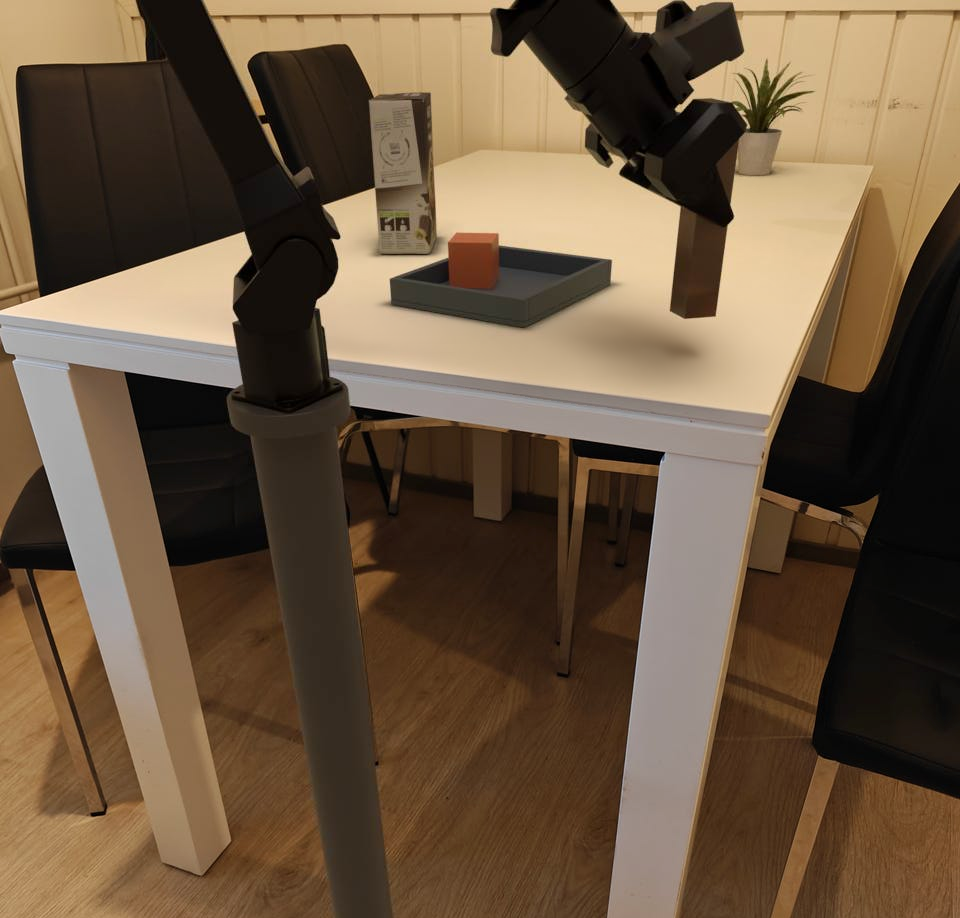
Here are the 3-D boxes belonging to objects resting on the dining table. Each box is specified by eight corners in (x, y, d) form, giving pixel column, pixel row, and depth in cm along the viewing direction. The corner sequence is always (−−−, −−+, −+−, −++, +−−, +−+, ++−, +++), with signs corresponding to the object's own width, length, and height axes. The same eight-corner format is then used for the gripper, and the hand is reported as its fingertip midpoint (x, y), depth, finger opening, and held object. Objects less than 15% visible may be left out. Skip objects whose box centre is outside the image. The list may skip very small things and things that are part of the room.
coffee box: (431, 254, 108) (424, 97, 99) (378, 255, 109) (366, 98, 99) (438, 238, 116) (432, 90, 106) (388, 238, 116) (378, 91, 107)
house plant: (758, 184, 144) (776, 62, 134) (691, 174, 153) (703, 59, 143) (812, 173, 151) (833, 57, 141) (745, 164, 160) (761, 54, 150)
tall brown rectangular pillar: (684, 319, 73) (707, 119, 66) (669, 311, 75) (689, 117, 68) (715, 316, 74) (742, 118, 66) (699, 309, 76) (723, 116, 69)
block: (492, 289, 93) (491, 242, 90) (449, 288, 94) (447, 241, 91) (499, 278, 97) (498, 233, 94) (457, 277, 97) (456, 232, 95)
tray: (524, 327, 84) (524, 299, 82) (391, 304, 91) (389, 278, 89) (610, 284, 96) (612, 259, 94) (487, 267, 103) (486, 243, 101)
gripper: (739, -56, 53) (868, 149, 61) (633, -43, 68) (748, 120, 76) (602, 104, 56) (741, 278, 64) (530, 83, 71) (650, 226, 79)
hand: (720, 218), depth 71 cm, fingers closed on tall brown rectangular pillar, 3 cm apart
